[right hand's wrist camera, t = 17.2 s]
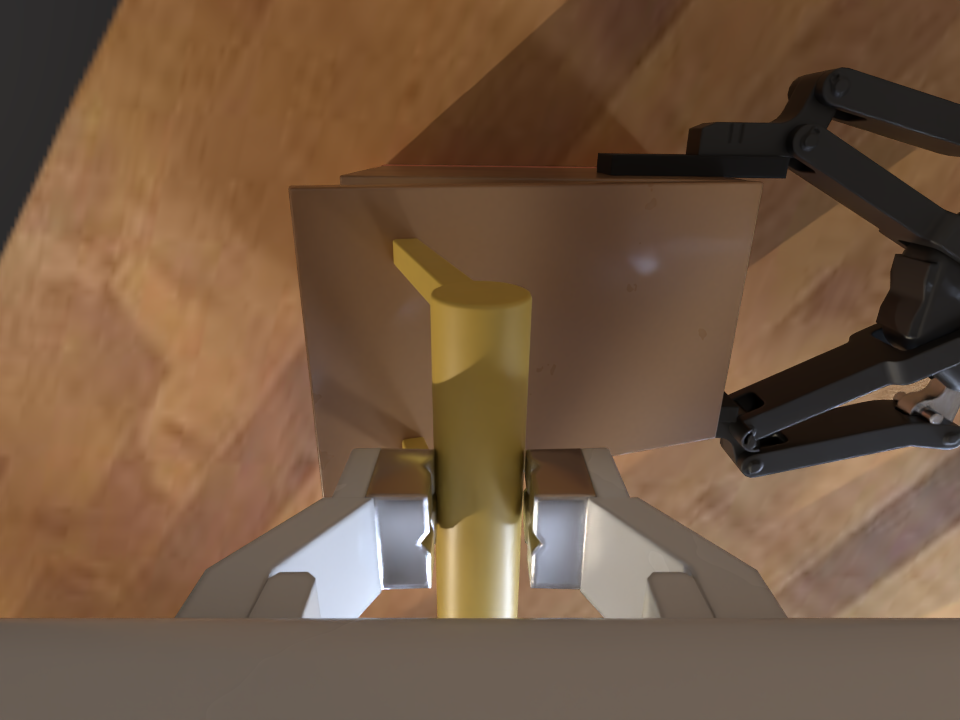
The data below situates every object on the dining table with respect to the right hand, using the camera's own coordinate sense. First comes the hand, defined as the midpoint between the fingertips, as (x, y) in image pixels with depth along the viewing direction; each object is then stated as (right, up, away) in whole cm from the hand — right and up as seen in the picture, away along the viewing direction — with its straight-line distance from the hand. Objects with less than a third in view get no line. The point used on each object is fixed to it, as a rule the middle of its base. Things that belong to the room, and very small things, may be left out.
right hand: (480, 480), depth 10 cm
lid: (+2, +3, +8) cm, 9 cm away
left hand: (+5, +5, +13) cm, 15 cm away
